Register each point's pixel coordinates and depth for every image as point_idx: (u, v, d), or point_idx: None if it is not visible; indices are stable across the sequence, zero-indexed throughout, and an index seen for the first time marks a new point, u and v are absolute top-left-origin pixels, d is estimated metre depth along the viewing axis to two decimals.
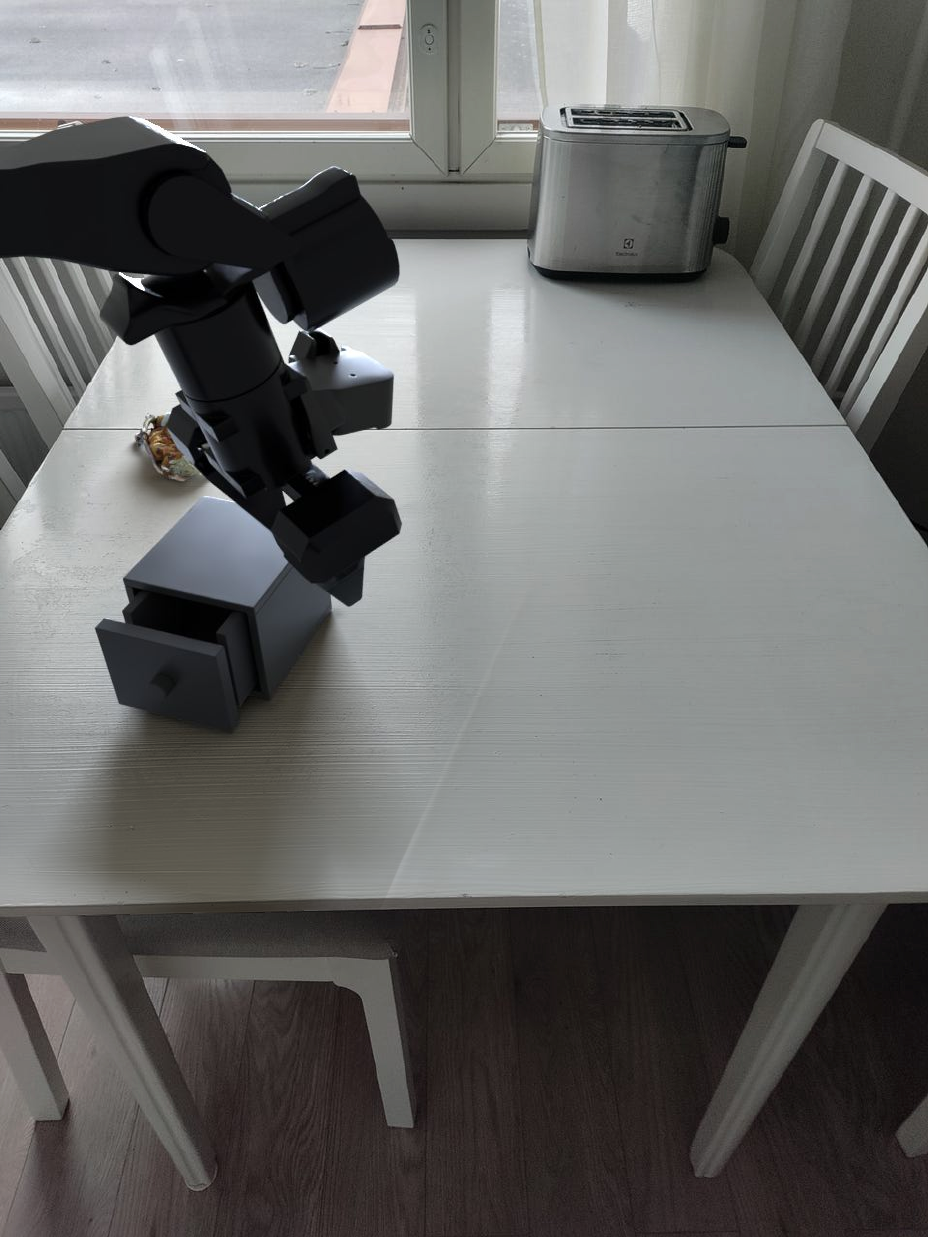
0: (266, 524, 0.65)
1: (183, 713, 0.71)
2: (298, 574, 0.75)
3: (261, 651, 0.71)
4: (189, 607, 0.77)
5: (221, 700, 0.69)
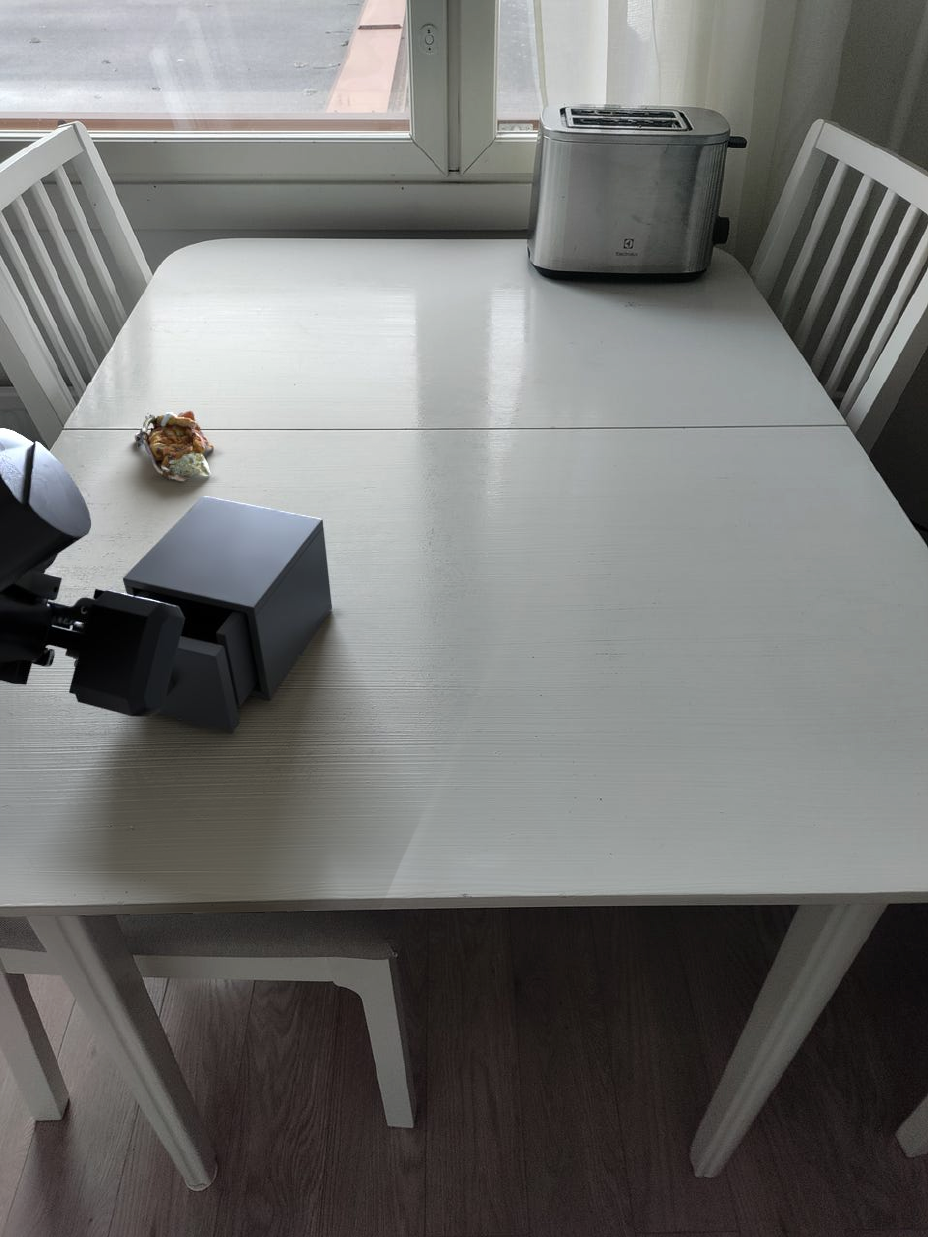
0: None
1: (183, 713, 0.71)
2: (298, 574, 0.75)
3: (261, 651, 0.71)
4: (189, 607, 0.77)
5: (221, 700, 0.69)
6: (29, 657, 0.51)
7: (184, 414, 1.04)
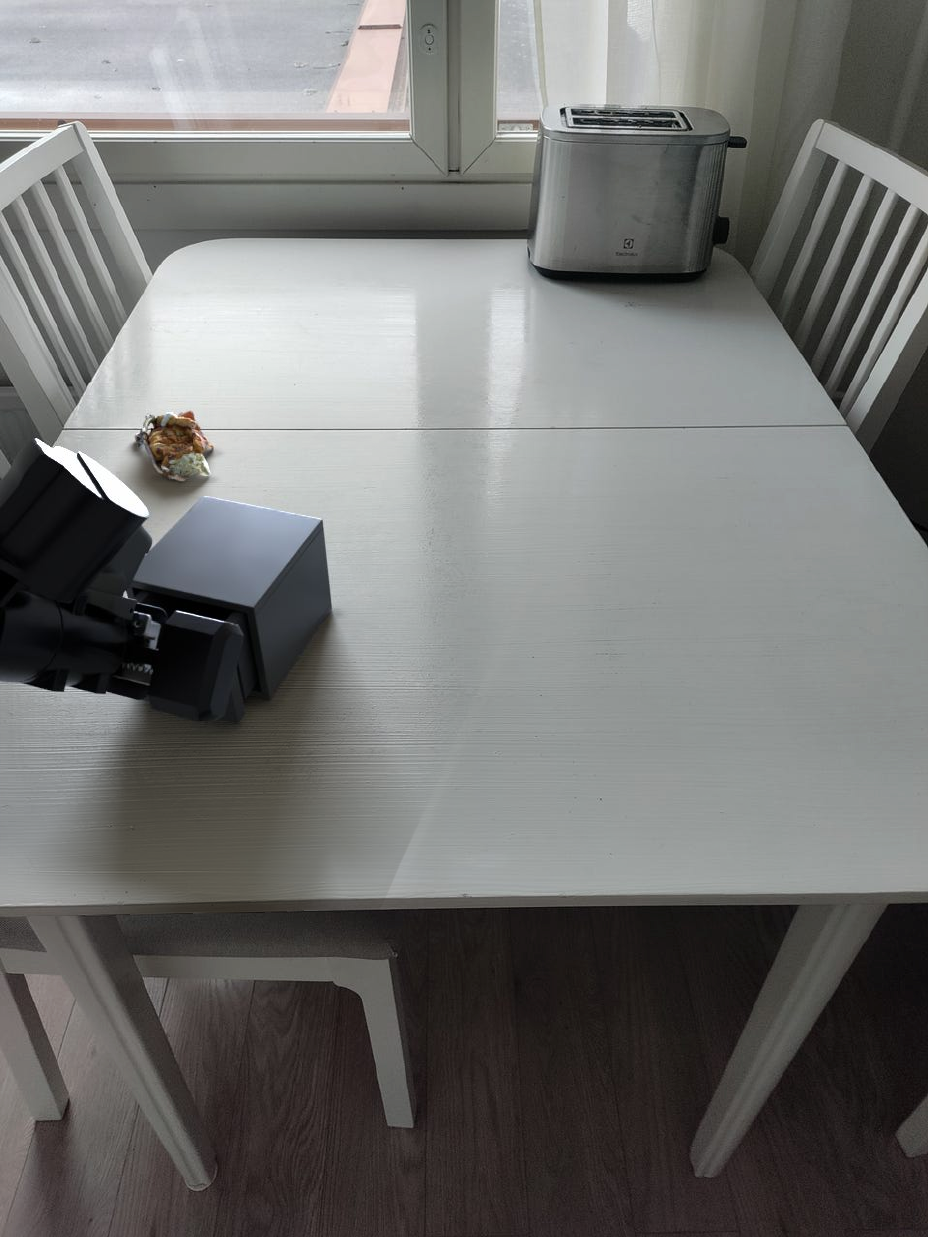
0: None
1: None
2: (298, 574, 0.75)
3: (261, 651, 0.71)
4: None
5: None
6: (109, 670, 0.58)
7: (184, 414, 1.04)
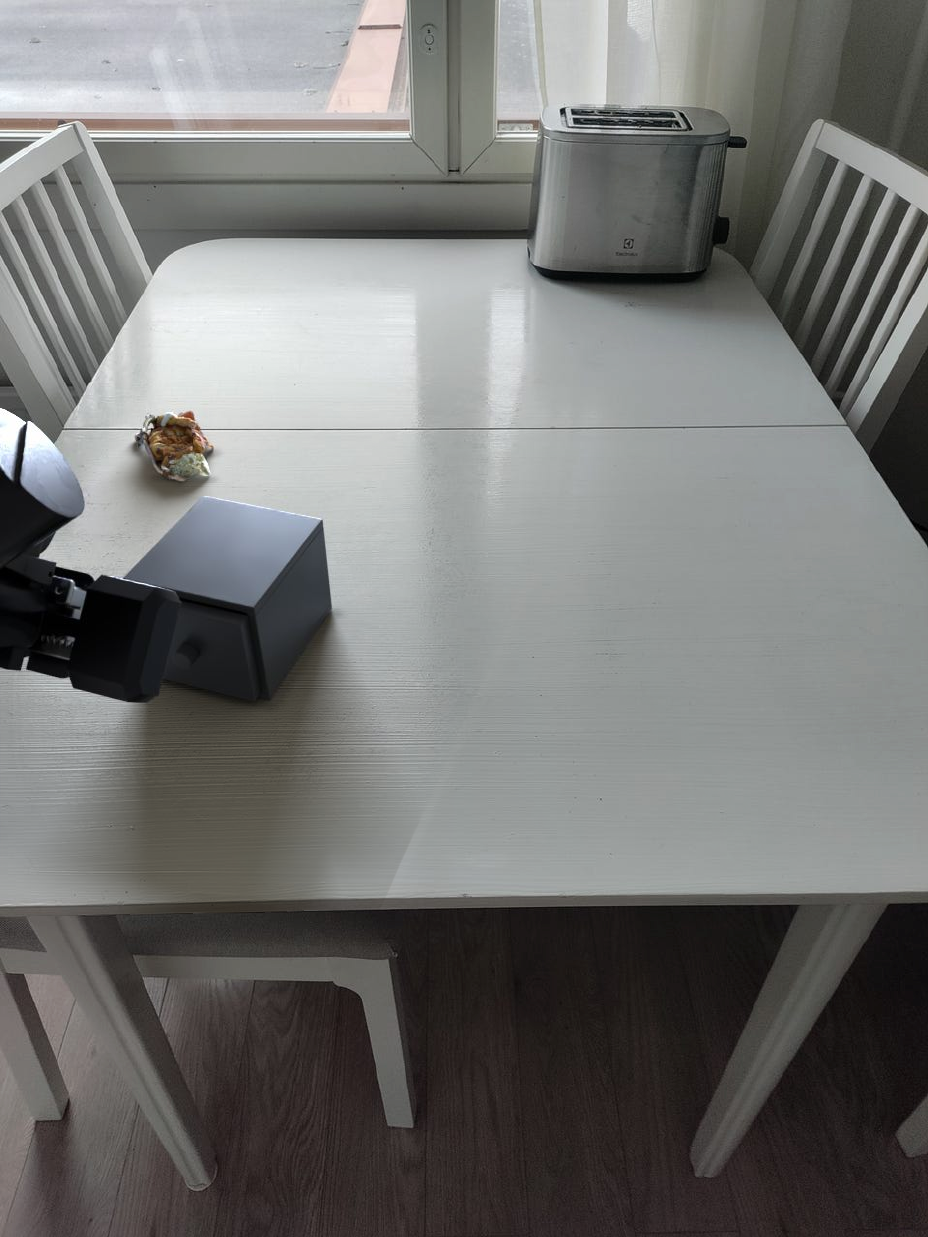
0: None
1: (207, 682, 0.74)
2: (298, 574, 0.75)
3: (261, 651, 0.71)
4: None
5: (244, 668, 0.71)
6: (23, 643, 0.50)
7: (184, 414, 1.04)
